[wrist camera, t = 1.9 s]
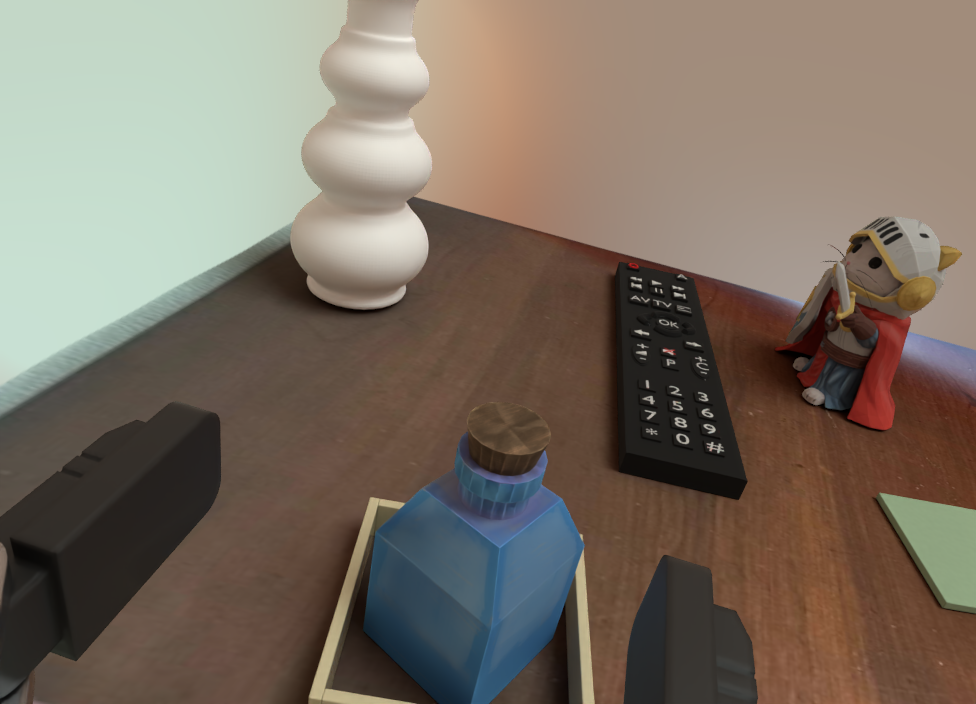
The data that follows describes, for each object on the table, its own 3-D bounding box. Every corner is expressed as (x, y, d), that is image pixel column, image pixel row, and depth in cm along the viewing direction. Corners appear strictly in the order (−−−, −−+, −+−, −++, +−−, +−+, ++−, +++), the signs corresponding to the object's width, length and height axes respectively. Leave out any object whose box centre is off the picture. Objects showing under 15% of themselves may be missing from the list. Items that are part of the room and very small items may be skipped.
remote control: (688, 291, 72) (695, 273, 71) (738, 499, 44) (750, 475, 43) (615, 274, 72) (620, 256, 71) (619, 471, 44) (627, 447, 43)
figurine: (742, 333, 65) (807, 176, 58) (866, 361, 65) (947, 206, 57) (768, 411, 54) (853, 228, 46) (918, 446, 53) (1029, 267, 46)
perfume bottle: (464, 728, 28) (522, 511, 22) (363, 630, 31) (390, 415, 25) (552, 638, 33) (621, 437, 27) (456, 560, 36) (498, 363, 30)
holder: (583, 777, 28) (598, 746, 26) (305, 731, 27) (308, 697, 26) (572, 563, 37) (582, 534, 36) (366, 527, 37) (370, 496, 36)
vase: (294, 324, 53) (309, -55, 40) (283, 262, 61) (293, -66, 49) (434, 324, 56) (488, -22, 44) (406, 265, 65) (444, -39, 53)
